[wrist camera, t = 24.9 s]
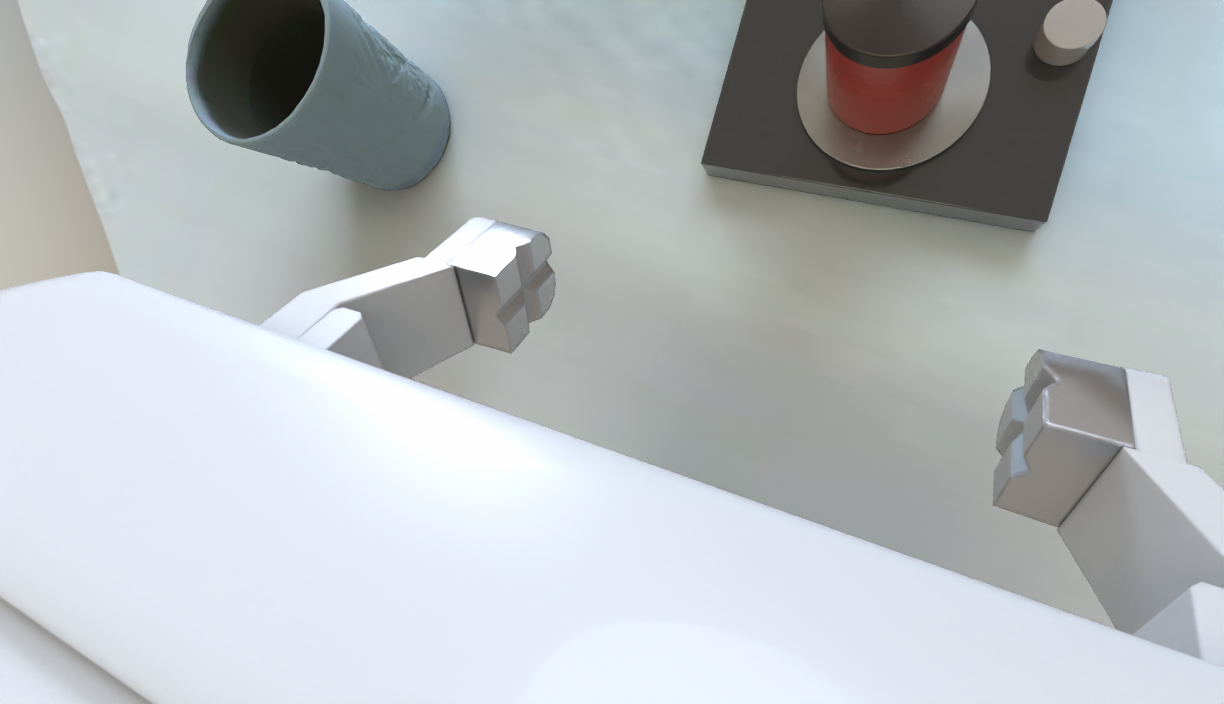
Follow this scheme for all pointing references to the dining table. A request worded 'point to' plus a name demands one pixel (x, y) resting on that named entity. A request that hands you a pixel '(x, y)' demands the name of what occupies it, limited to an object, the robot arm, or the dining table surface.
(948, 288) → the dining table surface
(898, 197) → the hob
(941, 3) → the red tin
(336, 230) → the dining table surface
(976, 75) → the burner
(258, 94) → the blue-grey embossed cup
